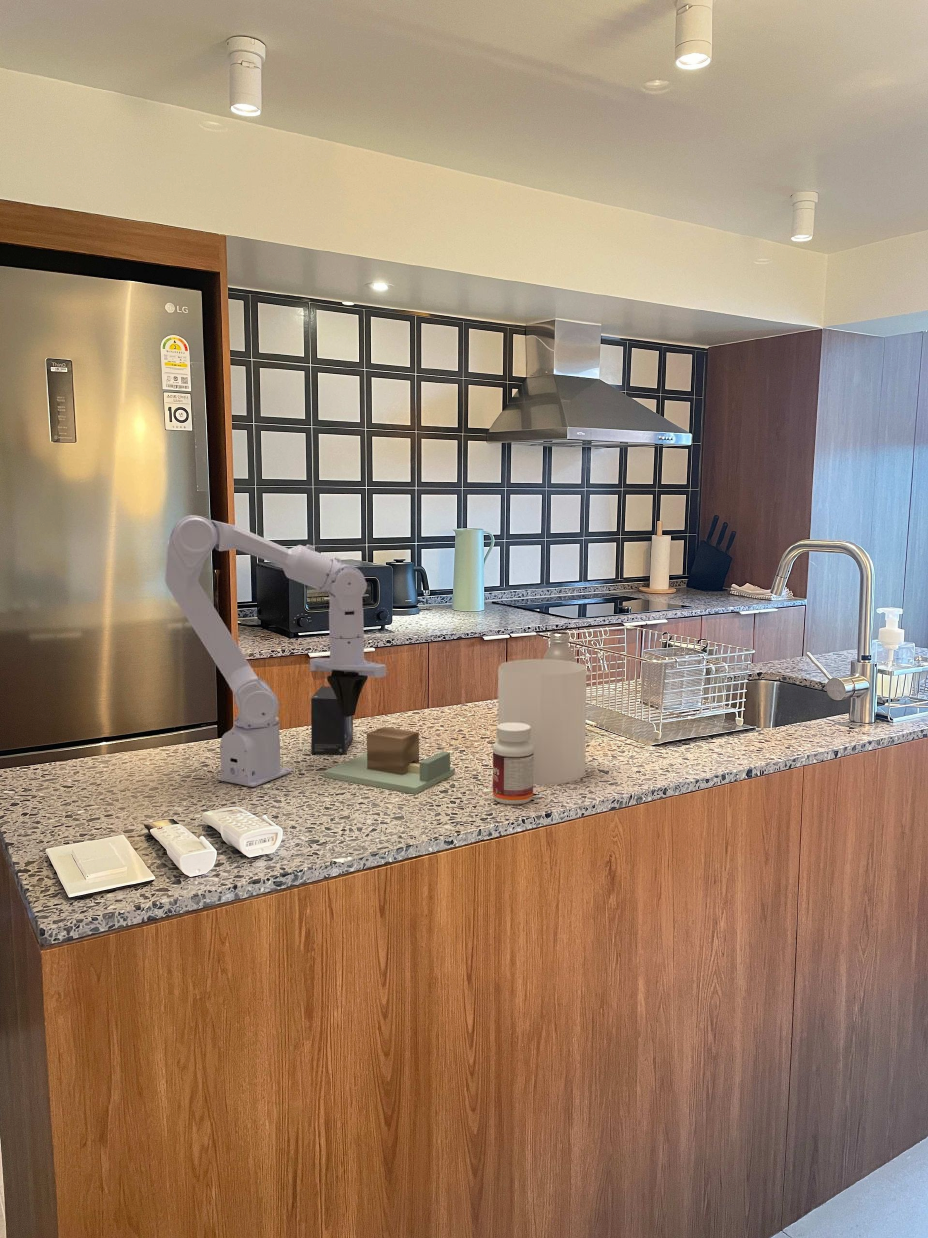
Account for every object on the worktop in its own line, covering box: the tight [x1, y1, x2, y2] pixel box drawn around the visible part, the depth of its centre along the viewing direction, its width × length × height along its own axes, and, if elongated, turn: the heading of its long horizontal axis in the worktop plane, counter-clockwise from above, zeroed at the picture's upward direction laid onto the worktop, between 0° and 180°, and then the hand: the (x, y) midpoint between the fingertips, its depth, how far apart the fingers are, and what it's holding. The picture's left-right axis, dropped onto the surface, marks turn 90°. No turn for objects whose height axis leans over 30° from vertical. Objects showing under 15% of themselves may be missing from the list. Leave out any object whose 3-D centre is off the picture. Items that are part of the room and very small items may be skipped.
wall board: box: [322, 751, 456, 795], centre depth 145 cm, size 12×18×4 cm, turn 61°
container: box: [497, 658, 588, 786], centre depth 147 cm, size 14×14×18 cm
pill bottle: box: [492, 723, 534, 805], centre depth 133 cm, size 6×6×11 cm
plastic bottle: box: [542, 631, 577, 663], centre depth 170 cm, size 6×7×20 cm
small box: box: [310, 685, 354, 755], centre depth 162 cm, size 11×6×10 cm, turn 179°
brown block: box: [366, 726, 420, 775], centre depth 146 cm, size 5×7×6 cm
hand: (348, 715), depth 150 cm, fingers closed
